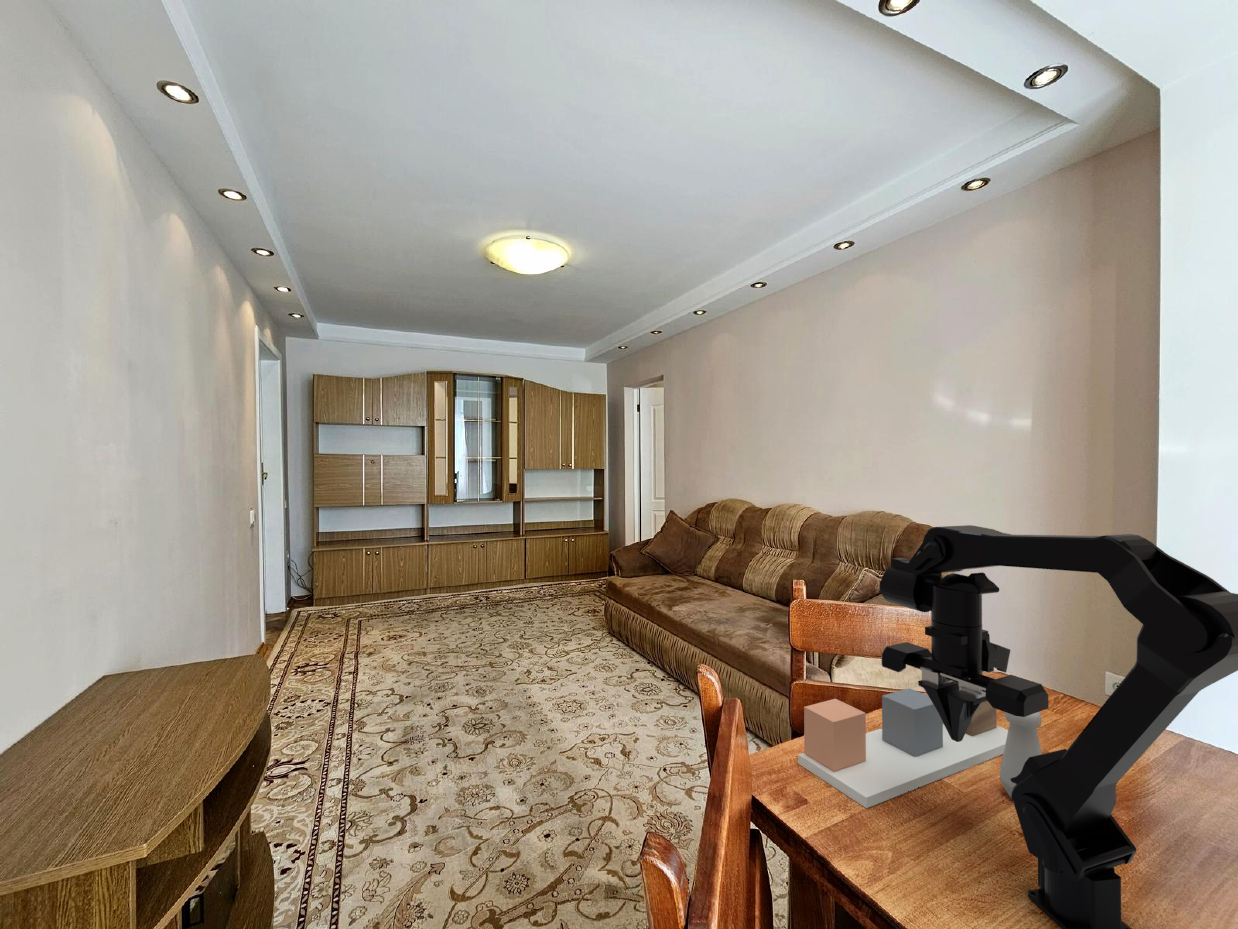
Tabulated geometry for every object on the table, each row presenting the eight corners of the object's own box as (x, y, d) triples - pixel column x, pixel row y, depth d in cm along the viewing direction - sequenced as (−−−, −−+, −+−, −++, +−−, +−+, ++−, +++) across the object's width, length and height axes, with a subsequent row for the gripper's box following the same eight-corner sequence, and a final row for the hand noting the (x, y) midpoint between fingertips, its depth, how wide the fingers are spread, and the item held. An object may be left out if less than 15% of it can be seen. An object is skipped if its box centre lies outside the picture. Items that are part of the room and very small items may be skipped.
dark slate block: (942, 746, 91) (942, 701, 91) (915, 756, 88) (914, 709, 88) (909, 731, 96) (909, 688, 96) (882, 740, 93) (882, 695, 93)
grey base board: (950, 715, 106) (950, 707, 106) (1024, 745, 94) (1024, 736, 94) (798, 763, 89) (798, 754, 89) (866, 808, 77) (866, 797, 77)
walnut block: (996, 727, 97) (996, 685, 97) (972, 736, 94) (972, 692, 94) (962, 714, 103) (962, 673, 103) (938, 721, 100) (938, 680, 100)
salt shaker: (1058, 812, 76) (1057, 718, 76) (1011, 807, 77) (1010, 714, 77) (1035, 787, 82) (1034, 700, 82) (992, 783, 83) (991, 697, 83)
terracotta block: (865, 760, 86) (865, 713, 87) (833, 771, 83) (833, 722, 83) (835, 743, 92) (835, 698, 92) (804, 753, 89) (804, 706, 89)
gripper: (1072, 632, 67) (1073, 759, 67) (928, 599, 84) (928, 701, 84) (1020, 645, 62) (1021, 783, 62) (878, 607, 79) (879, 716, 79)
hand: (956, 740), depth 72 cm, fingers closed
